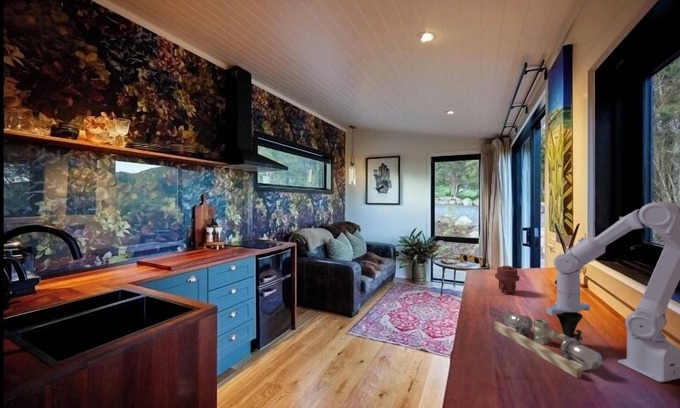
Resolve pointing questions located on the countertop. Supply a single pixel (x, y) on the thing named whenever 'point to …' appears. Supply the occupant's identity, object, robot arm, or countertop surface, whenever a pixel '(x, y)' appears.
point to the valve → (549, 333)
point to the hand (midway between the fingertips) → (568, 335)
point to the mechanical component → (507, 279)
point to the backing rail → (539, 350)
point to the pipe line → (568, 347)
